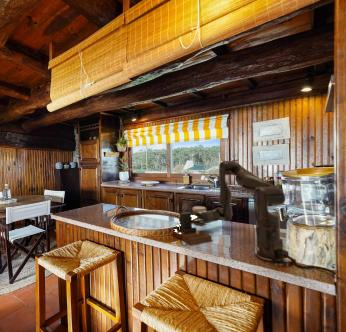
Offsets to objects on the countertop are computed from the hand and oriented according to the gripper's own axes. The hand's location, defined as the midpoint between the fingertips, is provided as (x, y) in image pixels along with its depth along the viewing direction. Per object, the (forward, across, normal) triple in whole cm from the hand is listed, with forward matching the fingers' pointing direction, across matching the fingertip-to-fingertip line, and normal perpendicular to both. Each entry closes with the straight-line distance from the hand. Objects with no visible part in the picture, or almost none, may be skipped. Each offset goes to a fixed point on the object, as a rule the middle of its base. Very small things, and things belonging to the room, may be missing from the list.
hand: (182, 221), depth 130 cm
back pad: (-3, 0, +6) cm, 7 cm away
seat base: (-3, +4, +9) cm, 11 cm away
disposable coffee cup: (-26, -14, +10) cm, 31 cm away
